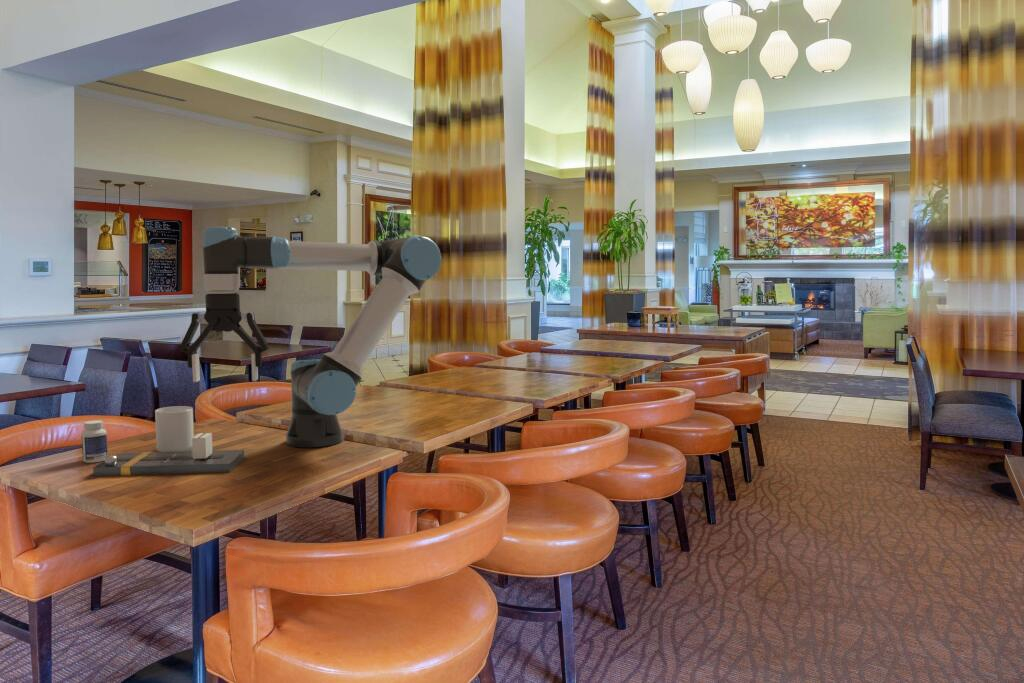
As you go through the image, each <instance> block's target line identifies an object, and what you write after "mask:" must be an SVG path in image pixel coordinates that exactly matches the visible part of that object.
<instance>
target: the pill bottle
mask: <svg viewBox="0 0 1024 683" xmlns="http://www.w3.org/2000/svg"><path fill="white" fill-rule="evenodd" d="M83 428H84V431H82V432H81V434H80V436H81V452H82V453H81V454H82V461H83V463H87V464H90V463H98V462H99V463H100V462H104V461H105V456H109V454H108V452H109V451H108V434H107V430H106V429H104V421H103V420H88V421H85V422H84V423H83Z"/></svg>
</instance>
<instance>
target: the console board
mask: <svg viewBox="0 0 1024 683" xmlns="http://www.w3.org/2000/svg"><path fill="white" fill-rule="evenodd" d="M244 459H245V449H228V450H227V449H226V450H225V449H224V450H223V449H222V450H212V454H211V455H210V456H208V457H207V458H200V459H193V450H190V451H181V452H159V451H154V452H153V451H143V452H117V453H116V454H110V455H109V454H108V456H105V460H104V461H101V463H100V462H99V464H97V465H96V466H94V467H92V470H93V471H92V472H93V473H92V474H93V477H109V476H113V477H114V476H140V475H141V476H143V475H170V474H171V475H172V474H175V475H176V474H205V473H206V474H207V473H231V472H232V471H233V470H234V469H235V468H236V467H237V466H238V465H239V464H240V463H241V461H242V460H244Z"/></svg>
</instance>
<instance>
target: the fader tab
mask: <svg viewBox="0 0 1024 683" xmlns="http://www.w3.org/2000/svg"><path fill="white" fill-rule="evenodd" d="M192 447H193V448H192V451H193V459H200V458H207V457H208V456H210V455H211V454H212V451H213V433H212V432H209V433H208V432H202V433H197V434H196V435H194V437H193V438H192Z"/></svg>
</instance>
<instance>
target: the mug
mask: <svg viewBox="0 0 1024 683" xmlns="http://www.w3.org/2000/svg"><path fill="white" fill-rule="evenodd" d="M193 408H194V407H192V406H186V405H182V406H181V405H178V406H177V405H176V406H175V405H174V406H165V407H159V408H157V409H155V410H154V417H155V418H154V419H155V439H156V443H155V444H156V449H157V452H181V451H192V450H193V447H192V438H193V437H194V436H195V434H194V431H195V430H194V429H195V428H194V409H193Z"/></svg>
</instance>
